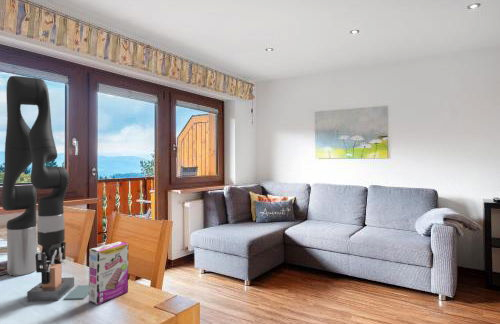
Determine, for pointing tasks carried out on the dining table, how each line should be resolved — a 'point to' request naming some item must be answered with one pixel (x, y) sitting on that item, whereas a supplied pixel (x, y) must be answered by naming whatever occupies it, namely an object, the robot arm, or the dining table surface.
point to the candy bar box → (108, 272)
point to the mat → (78, 292)
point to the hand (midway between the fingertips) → (51, 279)
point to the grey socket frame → (50, 291)
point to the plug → (54, 276)
